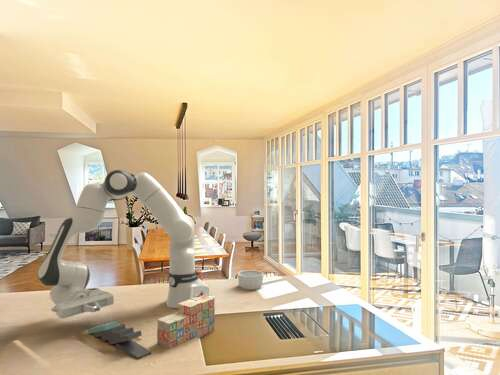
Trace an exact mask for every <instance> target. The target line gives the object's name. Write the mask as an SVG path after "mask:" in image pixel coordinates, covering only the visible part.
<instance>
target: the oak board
mask: <svg viewBox="0 0 500 375" xmlns="http://www.w3.org/2000/svg"><path fill="white" fill-rule="evenodd" d="M70 336H71V338H74V339H76V340H78V341H79V342H81V343H84V344H85V345H86V346H89V347H91V349H94V350H95V351H97V352H99V353H101V354H103V355H106V354H108V353H111V352H114V351H117V350H118V349H116V343H115V344H110V345H109V341H108V340H105V341H102V339H101V336H100V337H95V336H94V333H91V334H88V329H86V330H84V331H81V332H78V333H75V334H72V335H70ZM131 340H133V341H135V342H136V343H138V342H139V341H140V342H141V341H142V340H143V339H142V338H140V337H137V338H134V339H131Z"/></svg>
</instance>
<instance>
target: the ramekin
mask: <svg viewBox="0 0 500 375" xmlns="http://www.w3.org/2000/svg"><path fill="white" fill-rule="evenodd" d="M263 280H264V272H263V271H262V270H261V271H260V270H253V269H248V270H247V269H246V270H240V271H239V272H238V273H237V281H238V286H239V287H240V288H241V289H243V290H249V291H251V290H253V291H254V290H257V289H260V288H261V287H262V285H263Z"/></svg>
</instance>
